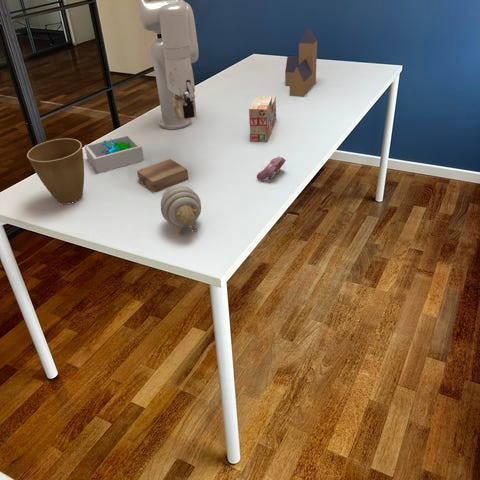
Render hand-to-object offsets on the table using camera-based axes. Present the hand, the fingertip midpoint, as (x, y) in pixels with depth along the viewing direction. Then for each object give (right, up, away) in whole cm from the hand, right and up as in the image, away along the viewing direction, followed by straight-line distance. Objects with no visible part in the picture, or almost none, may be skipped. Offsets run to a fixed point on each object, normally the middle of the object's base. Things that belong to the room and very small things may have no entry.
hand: (185, 114), depth 147 cm
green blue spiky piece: (-27, -10, +21) cm, 35 cm away
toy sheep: (+2, -34, -18) cm, 39 cm away
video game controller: (+27, -18, +3) cm, 32 cm away
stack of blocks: (+26, +2, +32) cm, 41 cm away
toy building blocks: (+42, +29, +69) cm, 86 cm away
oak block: (0, -1, +1) cm, 1 cm away
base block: (-7, -20, +4) cm, 22 cm away
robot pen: (-26, -11, +18) cm, 33 cm away
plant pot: (-34, -26, -2) cm, 43 cm away
